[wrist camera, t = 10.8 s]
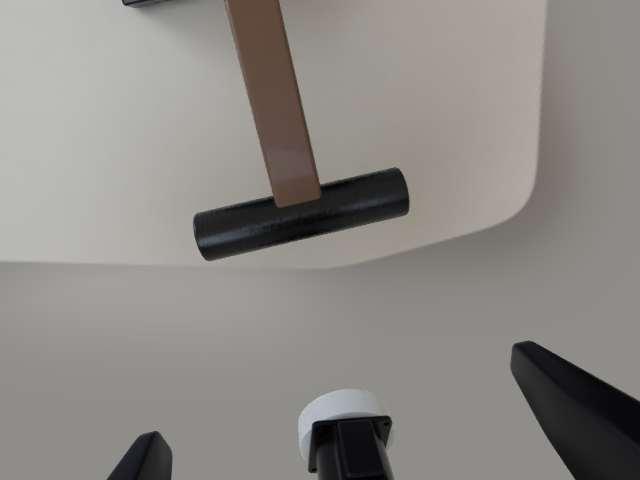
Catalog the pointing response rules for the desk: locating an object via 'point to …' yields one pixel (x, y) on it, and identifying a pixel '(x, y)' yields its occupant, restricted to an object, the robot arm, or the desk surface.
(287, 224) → the lever
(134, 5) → the bracket
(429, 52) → the desk surface
